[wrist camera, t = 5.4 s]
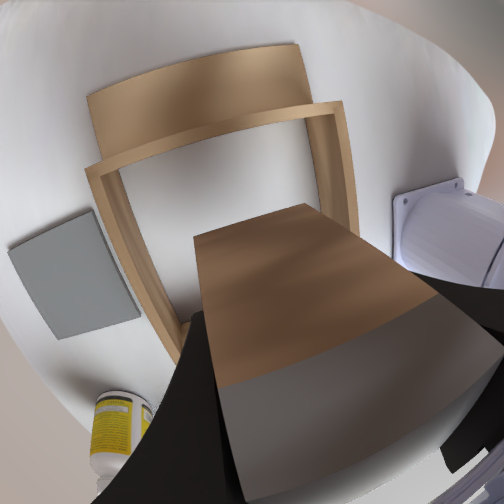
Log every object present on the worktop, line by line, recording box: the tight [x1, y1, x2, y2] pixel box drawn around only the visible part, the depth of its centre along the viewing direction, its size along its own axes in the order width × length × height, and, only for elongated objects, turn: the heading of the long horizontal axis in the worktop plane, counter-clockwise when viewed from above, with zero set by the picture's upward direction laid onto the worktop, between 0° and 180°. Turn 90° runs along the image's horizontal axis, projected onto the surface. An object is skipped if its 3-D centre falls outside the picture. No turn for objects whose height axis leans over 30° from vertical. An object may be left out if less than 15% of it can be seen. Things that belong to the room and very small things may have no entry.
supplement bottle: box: [90, 391, 152, 495], centre depth 16 cm, size 5×5×10 cm
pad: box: [7, 210, 141, 340], centre depth 15 cm, size 8×8×1 cm
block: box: [193, 203, 504, 504], centre depth 7 cm, size 4×4×9 cm
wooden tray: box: [85, 44, 360, 366], centre depth 15 cm, size 12×20×4 cm, turn 13°
